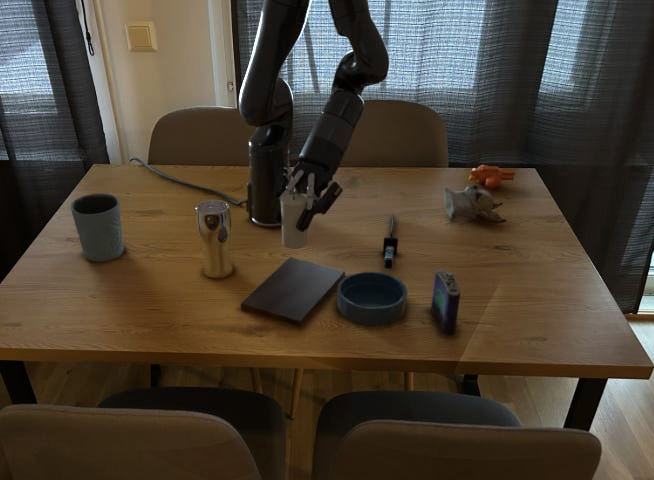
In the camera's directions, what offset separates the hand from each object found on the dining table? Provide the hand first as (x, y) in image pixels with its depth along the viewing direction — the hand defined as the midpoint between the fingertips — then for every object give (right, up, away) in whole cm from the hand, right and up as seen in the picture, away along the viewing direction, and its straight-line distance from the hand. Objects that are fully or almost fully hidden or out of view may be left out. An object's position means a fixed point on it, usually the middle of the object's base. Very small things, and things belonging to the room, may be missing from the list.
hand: (288, 225), depth 119 cm
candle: (+1, -3, +4) cm, 5 cm away
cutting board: (+1, -12, +10) cm, 16 cm away
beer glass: (-15, -8, +17) cm, 24 cm away
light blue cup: (-41, -3, +24) cm, 48 cm away
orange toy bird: (+53, +17, +53) cm, 77 cm away
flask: (+29, -18, +2) cm, 34 cm away
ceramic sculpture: (+44, +6, +37) cm, 58 cm away
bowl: (+16, -15, +6) cm, 23 cm away
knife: (+23, -2, +25) cm, 34 cm away
